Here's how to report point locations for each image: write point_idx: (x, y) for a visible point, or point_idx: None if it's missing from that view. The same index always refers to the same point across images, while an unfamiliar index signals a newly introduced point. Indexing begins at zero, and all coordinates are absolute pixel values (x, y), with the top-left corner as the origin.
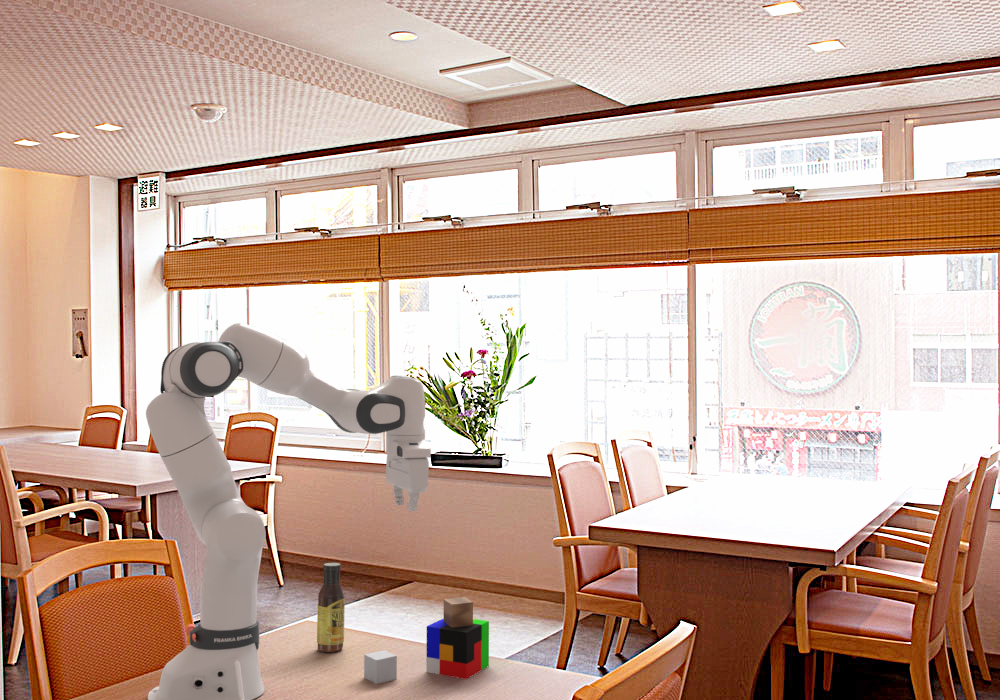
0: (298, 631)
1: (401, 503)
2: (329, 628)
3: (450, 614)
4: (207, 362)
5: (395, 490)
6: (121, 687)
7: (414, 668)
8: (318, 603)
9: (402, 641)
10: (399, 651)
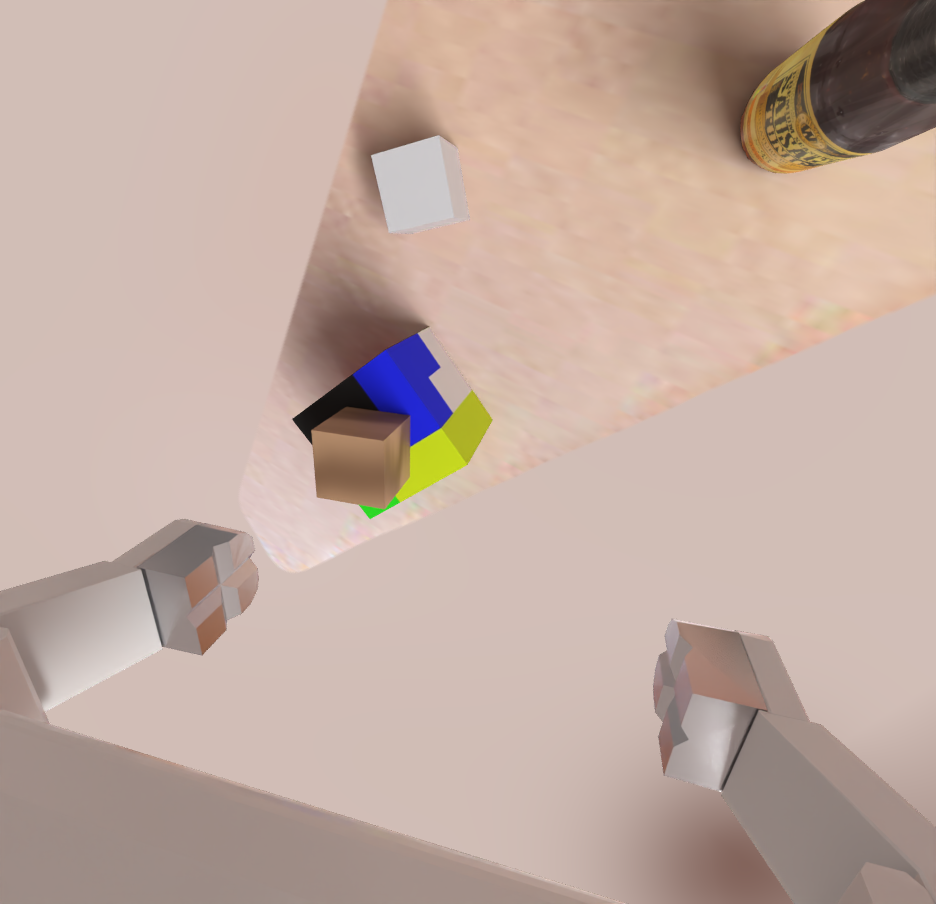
0: None
1: (662, 675)
2: (775, 78)
3: (338, 419)
4: None
5: (877, 864)
6: None
7: (467, 310)
8: None
9: (710, 382)
10: (624, 334)
